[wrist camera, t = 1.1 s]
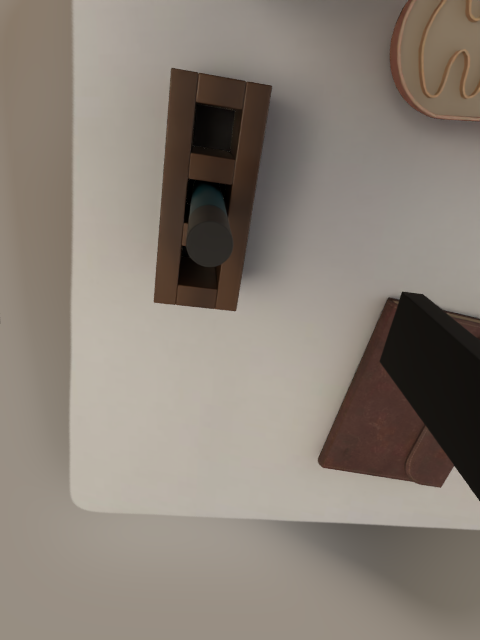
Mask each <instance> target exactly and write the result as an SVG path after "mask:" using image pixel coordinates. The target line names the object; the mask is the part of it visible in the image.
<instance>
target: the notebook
mask: <svg viewBox="0 0 480 640" xmlns="http://www.w3.org/2000/svg"><path fill="white" fill-rule="evenodd" d="M398 303H399V300H397V299H393V298H388V300H387V302H386V305H385V307H384V309H383V311H382V314H381V316H380V318H379V321H378V323H377V325H376V327H375V330H374V332H373V334H372V337H371V339H370V341H369V344H368V346H367V348H366V350H365V353H364V355H363V357H362V360H361V362H360V364H359V366H358V369H357V371H356V373H355V376H354V378H353V380H352V383H351V385H350V387H349V389H348V392H347V394H346V396H345V399H344V401H343V403H342V405H341V408H340V410H339V412H338V415H337V417H336V419H335V422H334V424H333V426H332V428H331V431H330V433H329V435H328V438H327V440H326V442H325V444H324V447H323V449H322V451H321V454H320V456H319V458H318V463H319V464H320V465H321V467H323V468H328V469H335V470H341V471H347V472H354V473H360V474H367V475H373V476H379V477H386V478H392V479H399V480H405V481H412V482H415V483H417V484H421V485H427V486H433V487H440V488H441V487H442V485H443V483H444V482H445V480H446V478H447V477H448V475H449V473H450V472H451V470H452V468H453V467H454V465H453V463H452V462H451V460H450V459H449V458H448V456H447V455H446V453H445V452H444V451H443V449H442V448H441V446H440V445H439V444H438V442H437V441H436V440H435V438H434V437H433V435H432V434H431V433H430V431H429V430H428V428H427V427H426V426H425V424H424V423H423V421H422V420H421V419H420V417H419V416H418V415H417V413H416V412H415V410H414V409H413V408H412V406H411V405H410V403H409V402H408V401H407V399H406V398H405V396H404V395H403V394H402V392H401V391H400V390H399V388H398V387H397V385H396V384H395V383H394V381H393V380H392V378H391V377H390V376H389V374H388V373H387V371H386V370H385V369H384V367H383V366H382V365H381V363H380V362H379V361H380V358H381V355H382V352H383V349H384V346H385V343H386V340H387V337H388V333H389V330H390V327H391V324H392V321H393V318H394V315H395V312H396V309H397V306H398ZM443 311H444V310H443ZM444 312H446V313H447V314H448V315H449V316H451V317H452V318H453V319H454V320H455V321H457V322H458V323H459V324H460V325H462V326H463V327H464V328H465V329H467V330H468V331H469V332H470V333H472V334H473V335H474V336H475V337H477V338H478V339H479V340H480V319H478V318H474V317H469V316H465V315H461V314H457V313H452V312H448V311H444Z"/></svg>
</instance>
